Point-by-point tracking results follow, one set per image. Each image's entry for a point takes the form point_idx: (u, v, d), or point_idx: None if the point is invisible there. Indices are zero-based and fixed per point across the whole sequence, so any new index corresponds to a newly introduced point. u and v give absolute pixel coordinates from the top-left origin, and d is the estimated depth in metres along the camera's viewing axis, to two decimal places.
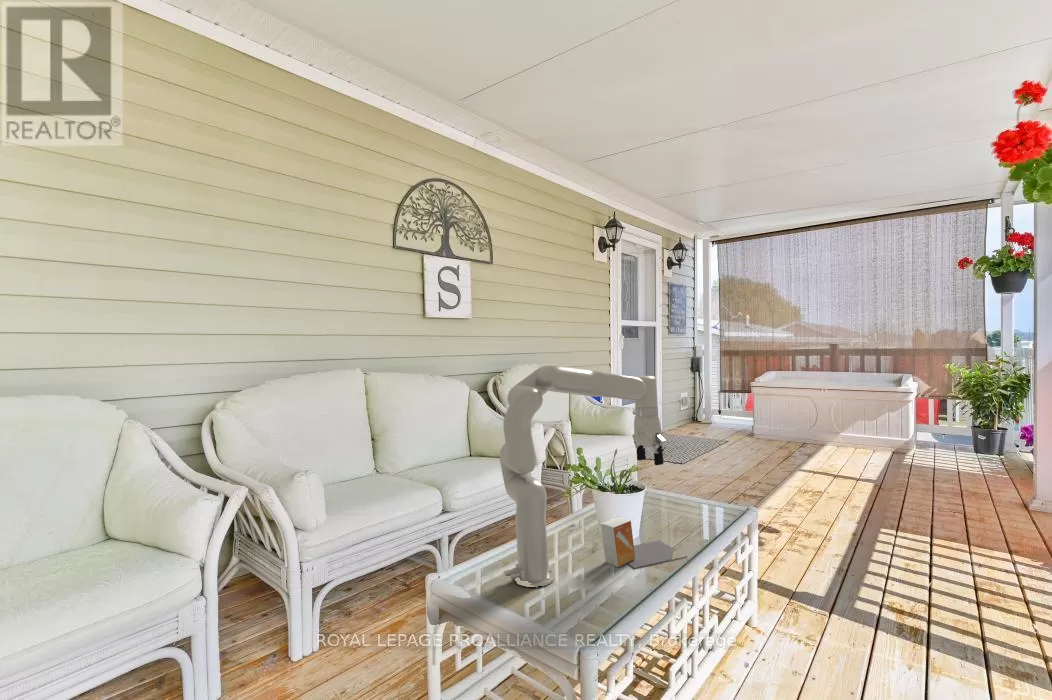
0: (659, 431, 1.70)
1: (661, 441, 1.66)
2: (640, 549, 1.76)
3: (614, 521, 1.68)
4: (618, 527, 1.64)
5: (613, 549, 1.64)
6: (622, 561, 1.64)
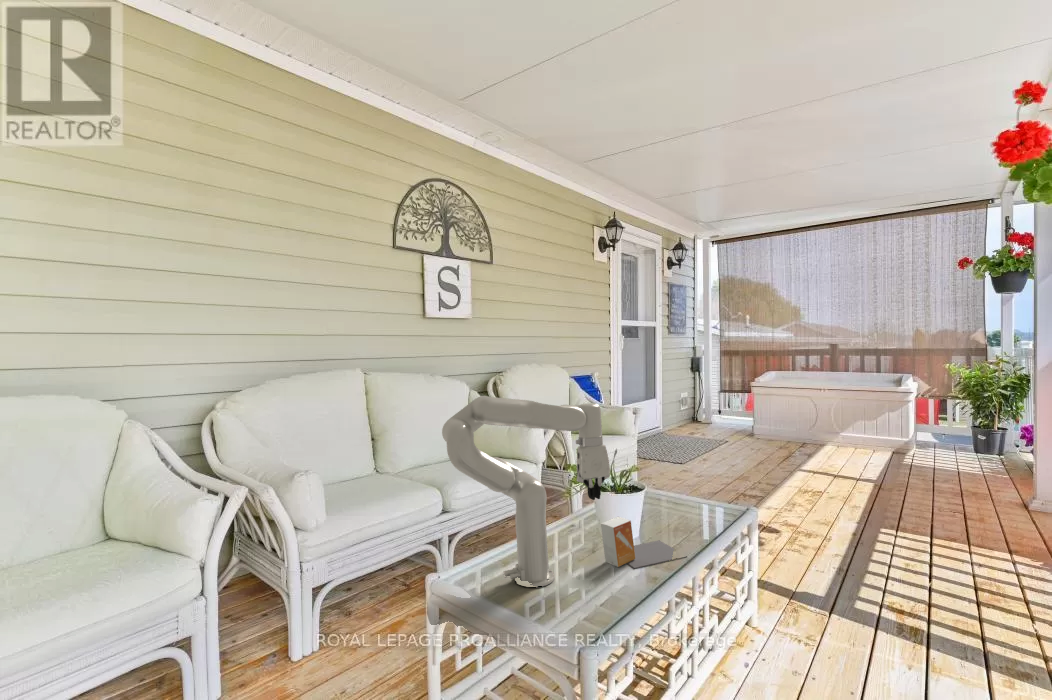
0: None
1: (607, 474, 1.66)
2: (640, 549, 1.76)
3: (614, 521, 1.68)
4: (618, 527, 1.64)
5: (613, 549, 1.64)
6: (622, 561, 1.64)
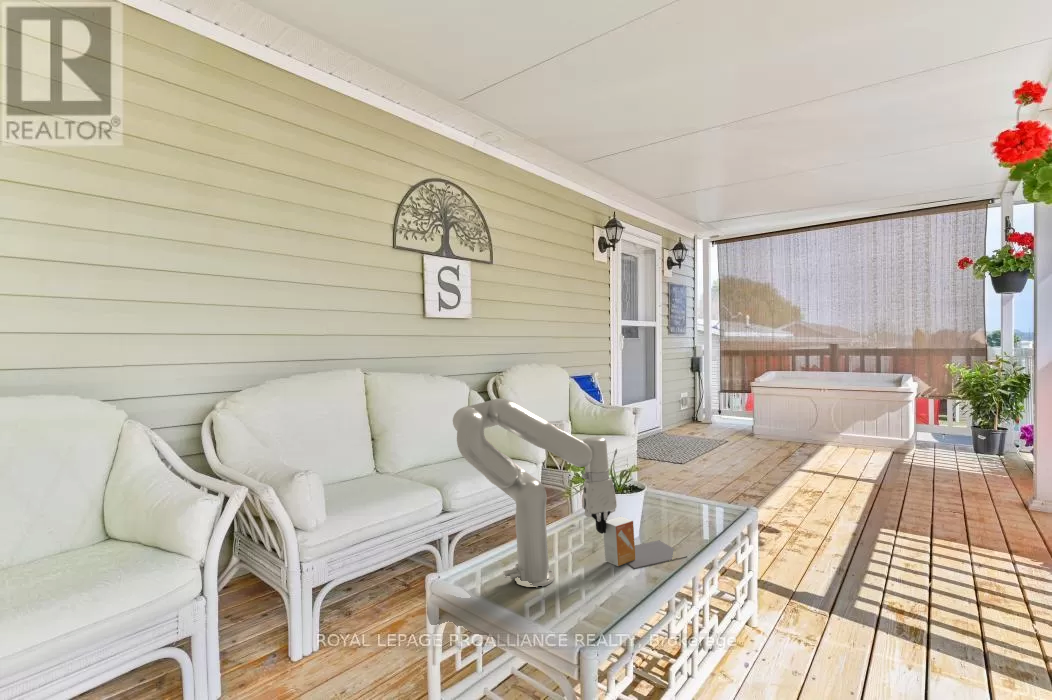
0: None
1: (613, 508, 1.67)
2: (640, 549, 1.76)
3: (616, 520, 1.68)
4: (620, 526, 1.64)
5: (614, 548, 1.64)
6: (622, 560, 1.64)
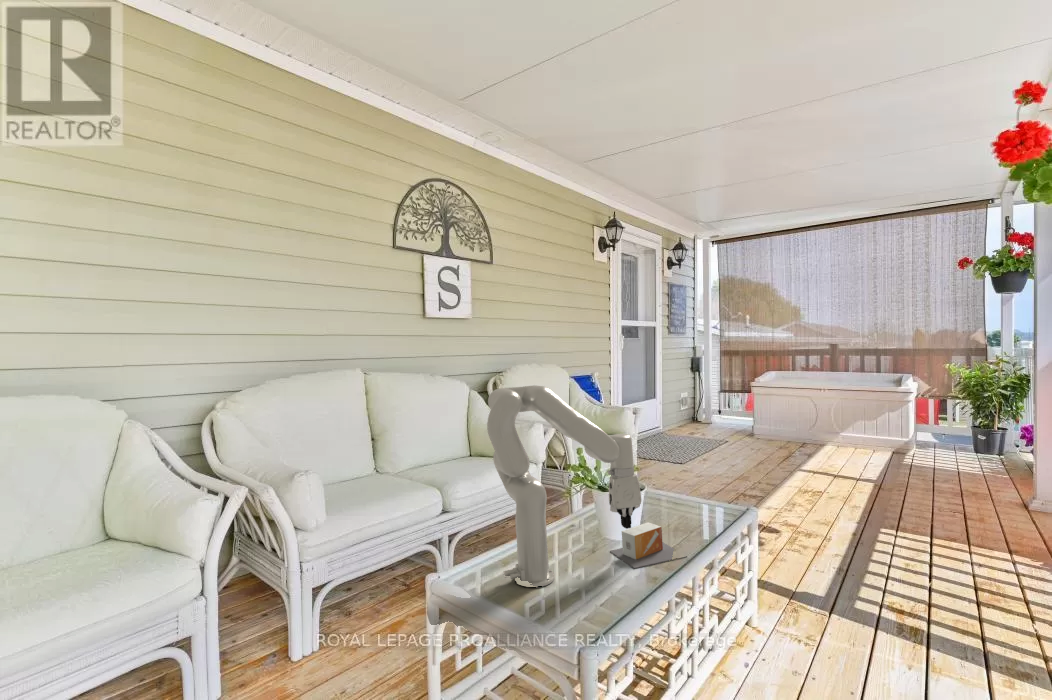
0: None
1: None
2: None
3: None
4: (660, 533, 1.74)
5: (644, 530, 1.71)
6: (637, 540, 1.68)
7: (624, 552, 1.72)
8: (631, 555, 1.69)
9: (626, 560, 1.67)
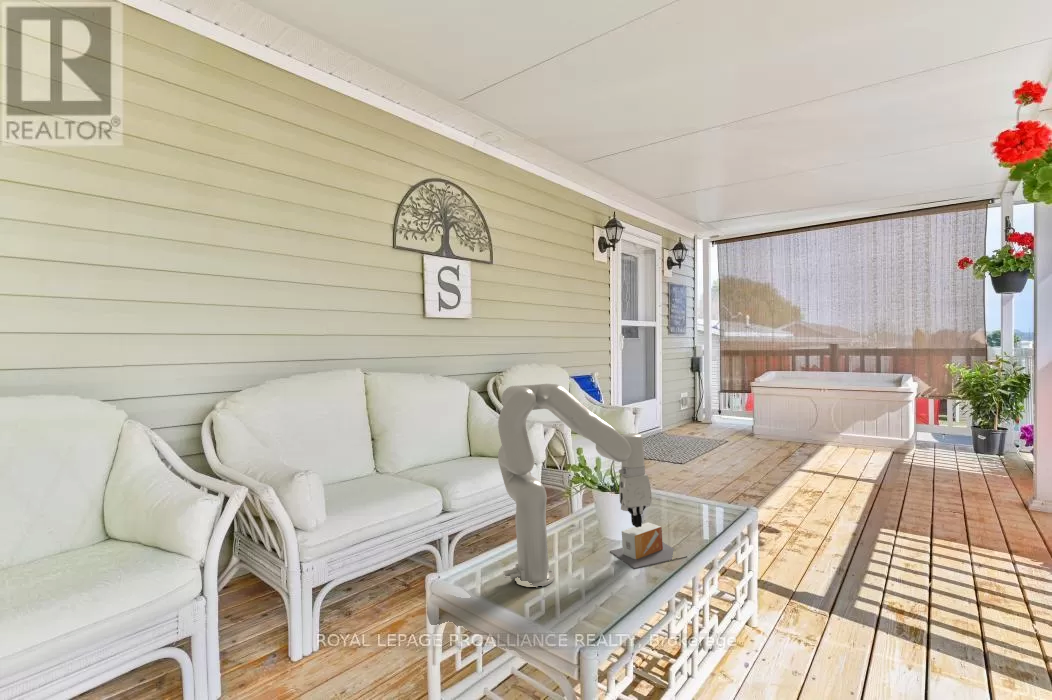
0: None
1: None
2: None
3: None
4: (660, 533, 1.74)
5: (644, 530, 1.71)
6: (637, 540, 1.68)
7: (624, 552, 1.72)
8: (631, 555, 1.69)
9: (626, 560, 1.67)
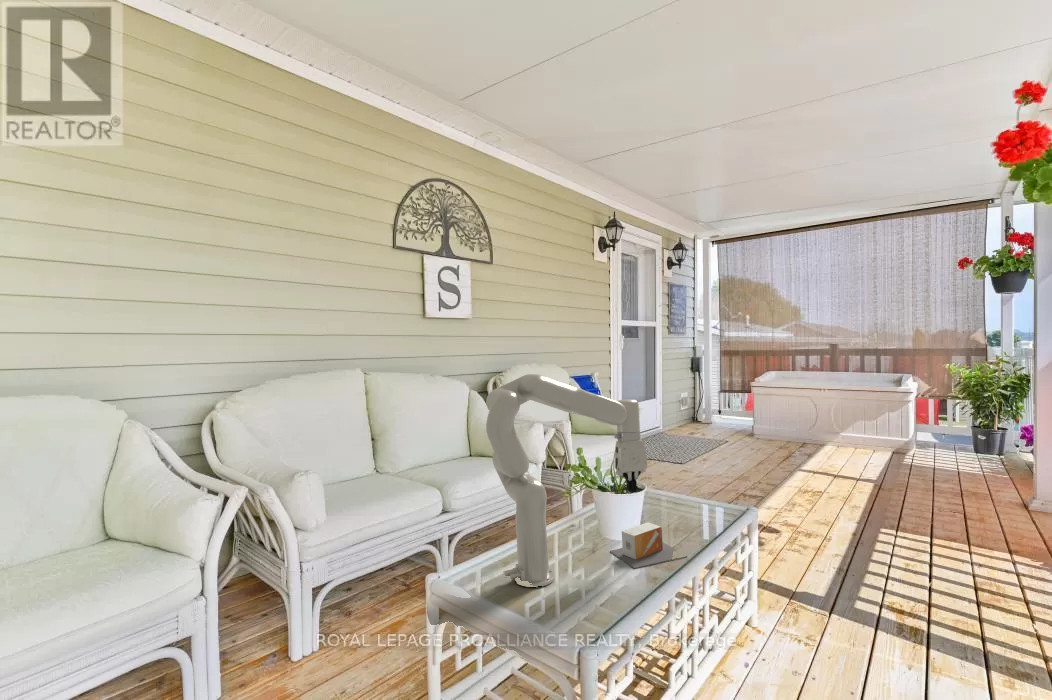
0: None
1: None
2: None
3: None
4: (660, 533, 1.74)
5: (644, 530, 1.71)
6: (637, 540, 1.68)
7: (624, 552, 1.72)
8: (631, 555, 1.69)
9: (626, 560, 1.67)
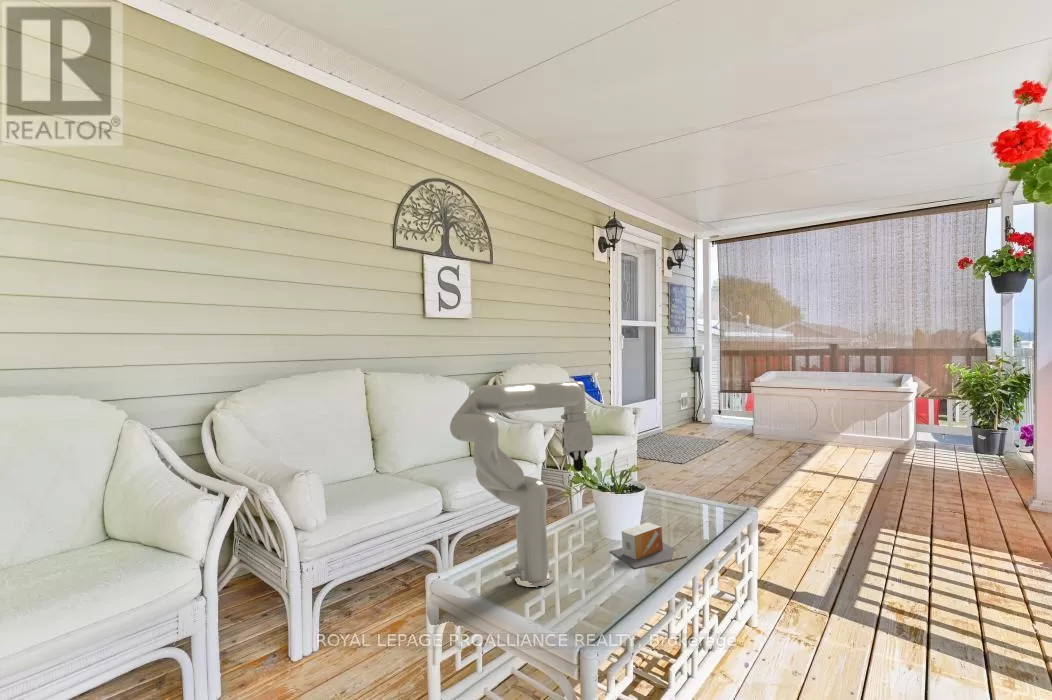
0: None
1: (590, 448, 1.77)
2: None
3: None
4: (660, 533, 1.74)
5: (644, 530, 1.71)
6: (637, 540, 1.68)
7: (624, 552, 1.72)
8: (631, 555, 1.69)
9: (626, 560, 1.67)
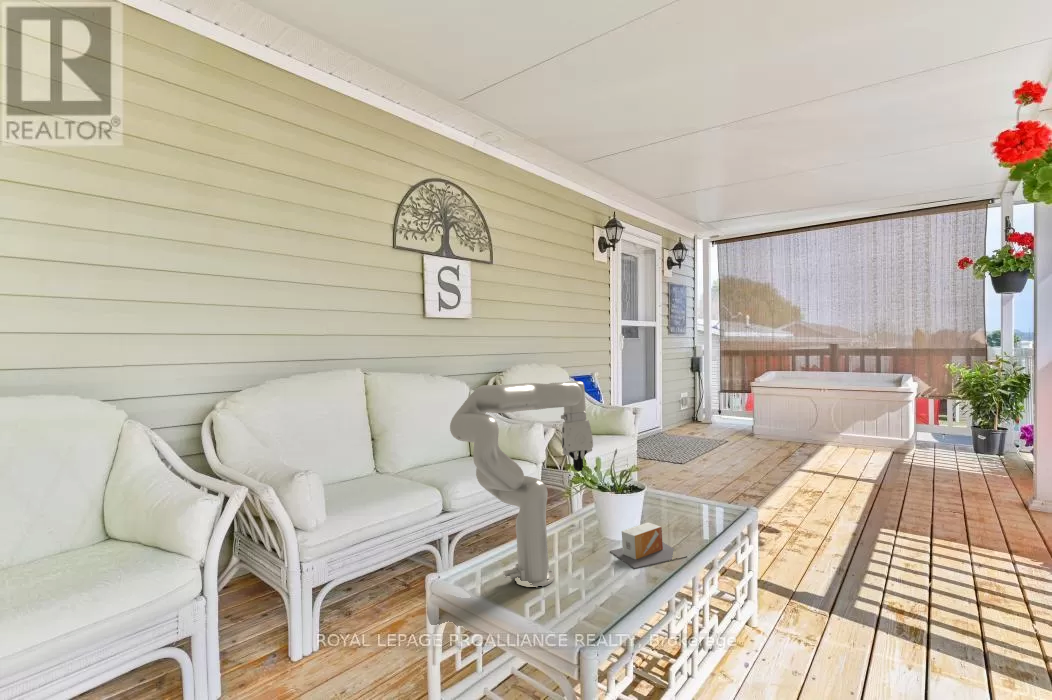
0: None
1: (590, 448, 1.77)
2: None
3: None
4: (660, 533, 1.74)
5: (644, 530, 1.71)
6: (637, 540, 1.68)
7: (624, 552, 1.72)
8: (631, 555, 1.69)
9: (626, 560, 1.67)
